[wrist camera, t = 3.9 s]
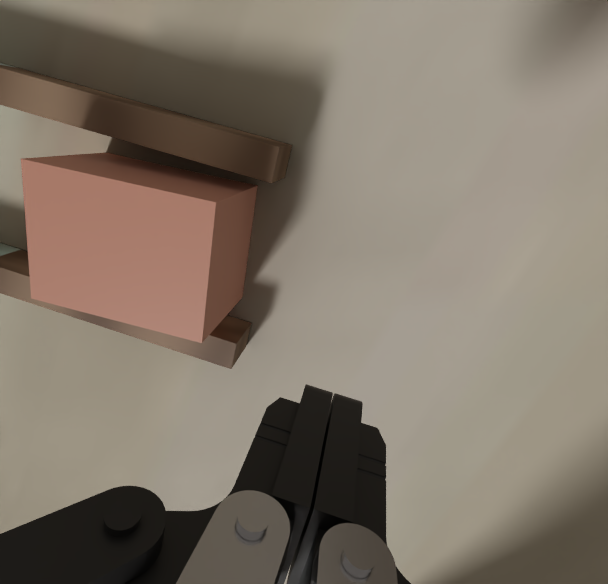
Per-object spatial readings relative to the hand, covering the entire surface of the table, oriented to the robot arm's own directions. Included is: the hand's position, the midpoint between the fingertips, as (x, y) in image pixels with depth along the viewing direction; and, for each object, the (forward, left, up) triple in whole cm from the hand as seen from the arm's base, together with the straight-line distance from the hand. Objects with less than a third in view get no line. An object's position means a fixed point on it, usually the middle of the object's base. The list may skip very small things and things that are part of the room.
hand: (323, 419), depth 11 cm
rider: (+10, 0, -11) cm, 15 cm away
